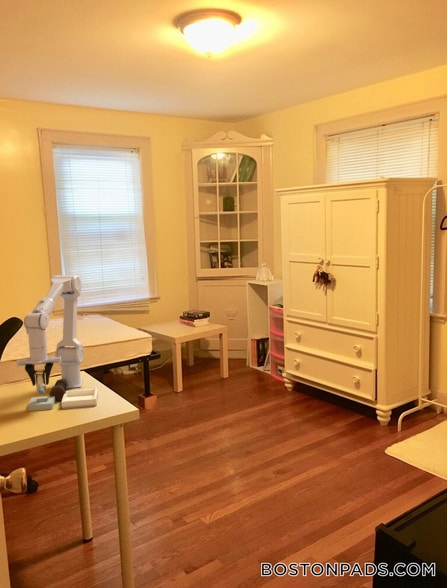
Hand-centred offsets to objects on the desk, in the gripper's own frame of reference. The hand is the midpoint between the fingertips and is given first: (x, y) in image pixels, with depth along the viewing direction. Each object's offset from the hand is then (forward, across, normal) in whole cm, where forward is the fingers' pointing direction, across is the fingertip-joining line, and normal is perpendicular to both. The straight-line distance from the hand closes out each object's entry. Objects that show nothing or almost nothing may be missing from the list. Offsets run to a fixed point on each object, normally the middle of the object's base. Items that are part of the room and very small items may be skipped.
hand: (40, 384), depth 171 cm
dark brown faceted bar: (+8, +5, +11) cm, 14 cm away
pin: (+3, 0, 0) cm, 3 cm away
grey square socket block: (+8, 0, 0) cm, 8 cm away
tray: (+8, +13, +1) cm, 15 cm away
